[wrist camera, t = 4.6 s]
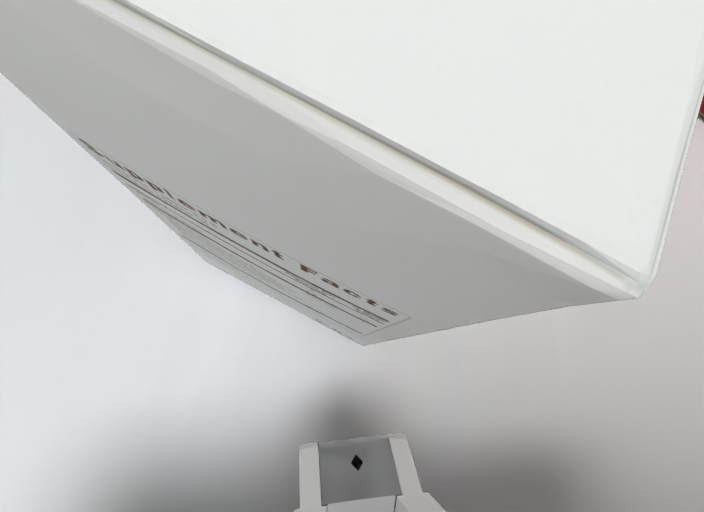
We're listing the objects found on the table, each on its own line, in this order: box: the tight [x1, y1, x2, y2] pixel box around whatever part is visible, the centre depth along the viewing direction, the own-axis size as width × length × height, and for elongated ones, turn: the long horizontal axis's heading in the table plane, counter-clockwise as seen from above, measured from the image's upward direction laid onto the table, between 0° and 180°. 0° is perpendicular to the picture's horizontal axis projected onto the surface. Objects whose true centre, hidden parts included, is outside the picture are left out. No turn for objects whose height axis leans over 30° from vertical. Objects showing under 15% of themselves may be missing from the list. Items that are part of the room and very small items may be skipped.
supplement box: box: [0, 0, 704, 346], centre depth 11 cm, size 9×9×15 cm
